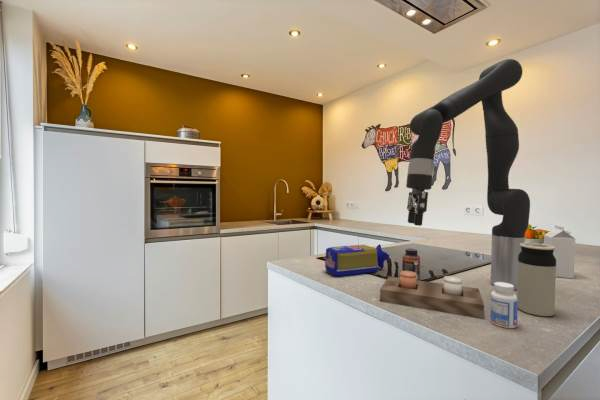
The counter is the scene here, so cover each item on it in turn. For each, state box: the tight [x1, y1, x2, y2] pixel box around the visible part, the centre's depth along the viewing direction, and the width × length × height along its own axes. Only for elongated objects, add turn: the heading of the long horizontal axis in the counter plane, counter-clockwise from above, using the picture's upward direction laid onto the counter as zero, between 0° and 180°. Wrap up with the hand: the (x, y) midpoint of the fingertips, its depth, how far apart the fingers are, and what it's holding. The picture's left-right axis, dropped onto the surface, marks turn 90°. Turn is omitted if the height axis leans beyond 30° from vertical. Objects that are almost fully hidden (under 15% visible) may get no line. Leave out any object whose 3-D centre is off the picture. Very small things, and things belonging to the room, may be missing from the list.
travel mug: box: [516, 242, 557, 317], centre depth 79 cm, size 8×8×18 cm
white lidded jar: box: [443, 275, 463, 296], centre depth 84 cm, size 5×5×5 cm
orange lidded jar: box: [399, 271, 416, 290], centre depth 89 cm, size 5×5×5 cm
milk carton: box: [543, 225, 576, 279], centre depth 112 cm, size 7×7×19 cm
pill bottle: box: [490, 282, 518, 329], centre depth 71 cm, size 6×5×10 cm
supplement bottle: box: [401, 248, 421, 281], centre depth 105 cm, size 6×6×11 cm
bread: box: [324, 244, 390, 278], centre depth 117 cm, size 10×25×10 cm, turn 112°
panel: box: [379, 276, 485, 319], centre depth 86 cm, size 26×14×4 cm, turn 63°
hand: (414, 224), depth 94 cm, fingers open, 8 cm apart
